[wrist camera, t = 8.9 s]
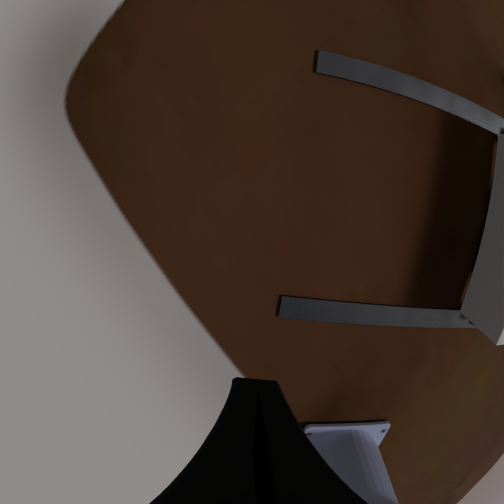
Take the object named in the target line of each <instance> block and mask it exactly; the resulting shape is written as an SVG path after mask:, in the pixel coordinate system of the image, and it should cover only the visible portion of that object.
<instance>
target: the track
mask: <svg viewBox="0 0 504 504" xmlns="http://www.w3.org/2000/svg"><path fill="white" fill-rule="evenodd" d="M316 73H319V74H324V75H328V76H333V77H337V78H341V79H346V80H350V81H354V82H357V83H361V84H365V85H369V86H372V87H376V88H379V89H382V90H386V91H389V92H392V93H395V94H398V95H401V96H404V97H407V98H410V99H413V100H416V101H419V102H422V103H424V104H427V105H430V106H432V107H435V108H438V109H440V110H443V111H445V112H448V113H450V114H452V115H455V116H457V117H459V118H462V119H464V120H466V121H469V122H471V123H473V124H475V125H477V126H479V127H481V128H484V129H486V130H488V131H490V132H492V133H494V134H496V135H498V134H504V119H503V118H502V117H500V116H498V115H496V114H494V113H492V112H491V111H489V110H487V109H485V108H483V107H481V106H479V105H477V104H475V103H473V102H471V101H469V100H467V99H465V98H463V97H460V96H458V95H456V94H454V93H452V92H449V91H447V90H445V89H442V88H440V87H438V86H435V85H433V84H430V83H428V82H425V81H423V80H420V79H417V78H415V77H412V76H409V75H407V74H404V73H401V72H398V71H395V70H392V69H389V68H386V67H383V66H379V65H376V64H373V63H369V62H366V61H362V60H359V59H355V58H351V57H347V56H343V55H339V54H335V53H331V52H326V51H322V50H318V58H317V67H316ZM278 318H288V319H299V320H310V321H322V322H335V323H349V324H365V325H383V326H405V327H439V328H477V327H476V326H474V325H471V324H470V323H469V320H468V319H467V318H466V317H465V316H464V315H463V314H462V313H460V310H456V309H438V308H422V307H407V306H393V305H380V304H368V303H356V302H345V301H334V300H324V299H314V298H304V297H294V296H285V295H282V299H281V304H280V310H279V315H278Z"/></svg>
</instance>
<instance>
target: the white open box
mask: <svg viewBox="0 0 504 504" xmlns="http://www.w3.org/2000/svg"><path fill="white" fill-rule="evenodd" d="M460 313H462V314H463V315H464V316H465V317H466V318H467V319H468V320H469V323H470V324H471V325H474V326H476V327H477V328H478V329H480V330H481V331H482V332H483V333H484V334H485V335H486V336H487V337H488V338H489V339H490V340H492V341H493V342H494V343H495V344H496V345H503V344H504V134H498V143H497V154H496V163H495V171H494V179H493V185H492V192H491V197H490V203H489V208H488V213H487V218H486V223H485V228H484V232H483V236H482V240H481V244H480V248H479V252H478V256H477V260H476V263H475V267H474V270H473V273H472V277H471V280H470V283H469V286H468V289H467V292H466V295H465V298H464V301H463V304H462V307H461V310H460Z"/></svg>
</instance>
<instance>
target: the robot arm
mask: <svg viewBox="0 0 504 504" xmlns="http://www.w3.org/2000/svg"><path fill="white" fill-rule="evenodd" d="M389 428H390V423H389V422H388V421H382V422H368V423H347V424H309V425H307V426H305V428H304V430H303V429H302V427H301V426H300V424H299V422H298V421H297V419H296V417H295V416H294V414H293V412H292V410H291V408H290V406H289V405H288V403H287V401H286V399H285V397H284V394H283V392H282V390H281V388H280V385H279V384H278V382H277V381H271V380H259V379H249V378H239V377H236V378H234V379H233V380H232V386H231V390H230V393H229V396H228V399H227V401H226V403H225V406H224V408H223V410H222V412H221V414H220V416H219V418H218V420H217V421H216V423H215V425H214V427H213V428H212V430H211V432H210V433H209V435H208V436H207V438H206V440H205V441H204V443H203V444H202V446H201V447H200V449H199V450H198V452H197V453H196V454H195V456H194V457H193V458H192V459H191V461H190V462H189V463H188V464H187V466H186V467H185V468H184V469H183V470H182V472H181V473H180V474H179V475H178V476H177V477H176V478H175V479H174V480H173V481H172V483H171V484H170V485H169V486H168V487H167V488H166V489H165V490H164V491H163V492H162V493H161V494H160V495H159V496H157V497H156V498H155V499H154V500H153V501H152V502H151V503H150V504H400V503H398V501H397V498H396V495H395V493H394V490H393V487H392V484H391V481H390V479H389V476H388V473H387V470H386V468H385V465H384V462H383V459H382V457H381V454H380V451H379V449H378V446H379V444H380V443H381V441H382V439H383V438H384V436H385V434H386V433H387V431H388V429H389Z"/></svg>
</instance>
